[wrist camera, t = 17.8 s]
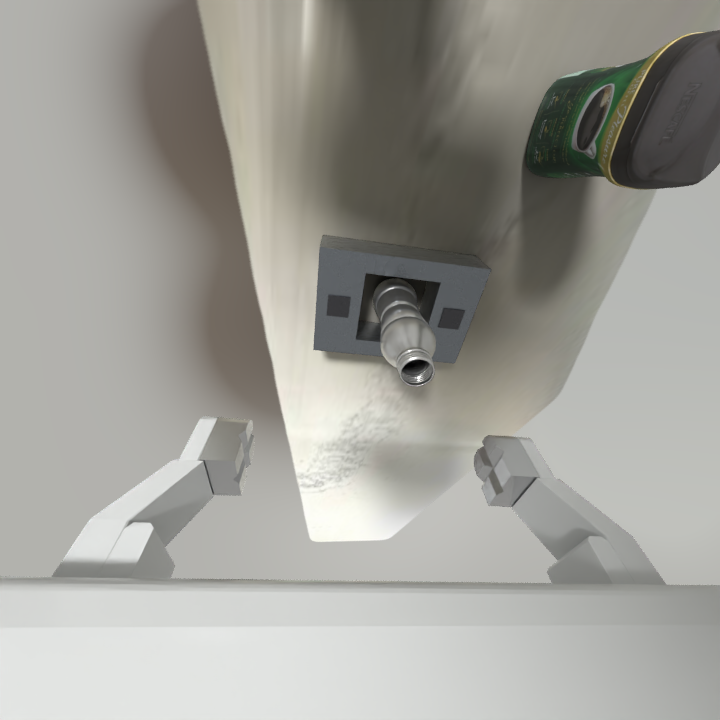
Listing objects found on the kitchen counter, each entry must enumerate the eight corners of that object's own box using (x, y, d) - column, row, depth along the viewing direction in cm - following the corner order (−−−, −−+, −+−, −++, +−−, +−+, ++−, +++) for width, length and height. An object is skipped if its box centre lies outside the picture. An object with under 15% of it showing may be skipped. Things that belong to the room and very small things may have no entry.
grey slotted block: (323, 234, 42) (319, 247, 37) (475, 255, 44) (491, 270, 39) (316, 329, 50) (313, 350, 45) (444, 342, 53) (455, 364, 48)
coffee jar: (575, 178, 39) (720, 200, 24) (515, 174, 39) (624, 194, 23) (615, 75, 33) (838, 18, 18) (546, 70, 33) (715, 7, 18)
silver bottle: (389, 321, 50) (411, 406, 34) (362, 292, 47) (371, 371, 30) (422, 296, 48) (462, 375, 31) (395, 263, 44) (424, 333, 28)
